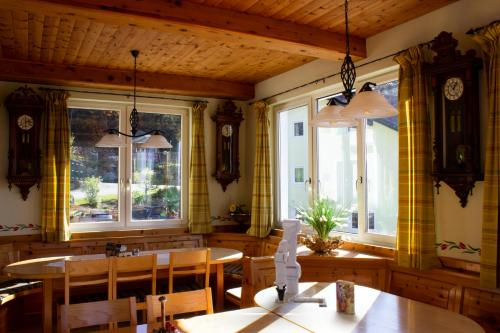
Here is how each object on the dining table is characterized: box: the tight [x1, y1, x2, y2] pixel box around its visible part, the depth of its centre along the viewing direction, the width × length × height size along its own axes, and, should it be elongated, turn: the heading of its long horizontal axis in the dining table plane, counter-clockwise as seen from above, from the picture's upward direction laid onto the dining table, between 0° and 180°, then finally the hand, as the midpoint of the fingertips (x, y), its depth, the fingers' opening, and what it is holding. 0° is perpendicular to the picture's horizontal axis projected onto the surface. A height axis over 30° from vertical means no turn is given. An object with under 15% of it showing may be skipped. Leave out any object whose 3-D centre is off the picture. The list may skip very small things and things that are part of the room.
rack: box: [294, 296, 327, 308], centre depth 233 cm, size 12×18×3 cm, turn 84°
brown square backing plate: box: [274, 298, 289, 304], centre depth 235 cm, size 8×7×1 cm
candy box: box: [335, 279, 356, 315], centre depth 218 cm, size 9×4×15 cm, turn 39°
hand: (281, 298), depth 235 cm, fingers open, 6 cm apart
